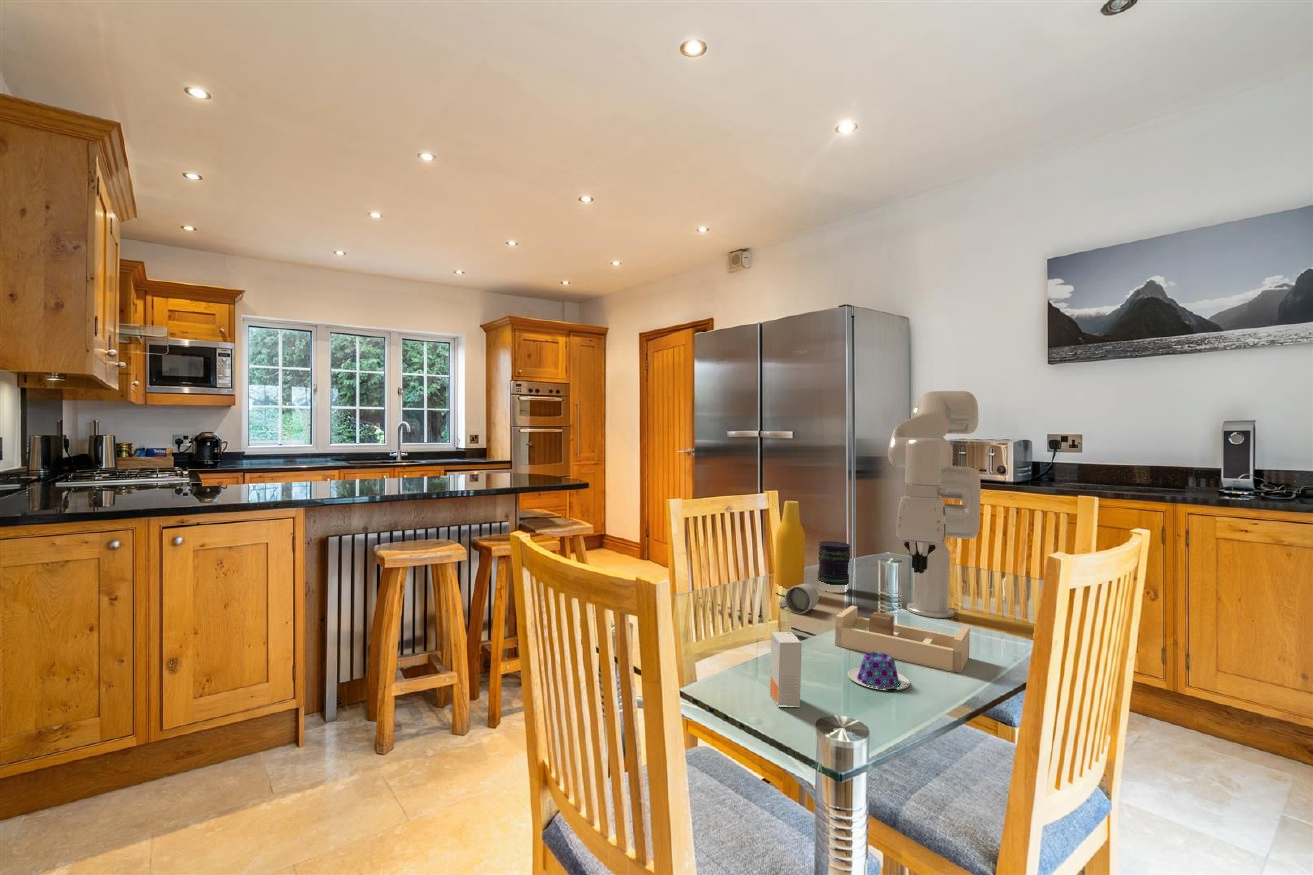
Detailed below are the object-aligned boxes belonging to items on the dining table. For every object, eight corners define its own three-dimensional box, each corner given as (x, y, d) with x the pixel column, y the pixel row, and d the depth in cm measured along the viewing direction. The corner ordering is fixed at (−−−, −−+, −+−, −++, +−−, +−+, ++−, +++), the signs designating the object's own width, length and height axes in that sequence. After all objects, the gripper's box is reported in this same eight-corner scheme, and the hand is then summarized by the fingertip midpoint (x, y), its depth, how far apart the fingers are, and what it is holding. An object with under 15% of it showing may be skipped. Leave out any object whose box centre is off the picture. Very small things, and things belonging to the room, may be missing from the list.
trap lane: (850, 632, 157) (851, 605, 156) (968, 657, 141) (970, 627, 141) (834, 645, 147) (835, 615, 147) (960, 673, 131) (961, 640, 131)
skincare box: (768, 694, 117) (770, 631, 117) (790, 694, 118) (792, 631, 118) (777, 708, 111) (779, 642, 111) (800, 708, 112) (802, 642, 112)
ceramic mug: (820, 609, 177) (820, 583, 177) (810, 616, 170) (810, 588, 170) (785, 604, 183) (785, 578, 183) (774, 610, 176) (774, 583, 176)
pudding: (905, 698, 118) (906, 671, 118) (841, 684, 124) (842, 658, 124) (913, 678, 129) (914, 653, 128) (854, 666, 134) (854, 642, 134)
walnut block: (874, 630, 150) (874, 611, 150) (893, 634, 147) (894, 615, 147) (868, 634, 146) (869, 615, 146) (888, 638, 143) (889, 619, 143)
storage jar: (818, 592, 198) (820, 545, 198) (815, 584, 207) (817, 540, 207) (850, 594, 196) (852, 547, 196) (846, 587, 206) (848, 542, 206)
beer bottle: (802, 598, 189) (805, 503, 189) (771, 595, 192) (774, 501, 192) (805, 591, 198) (808, 501, 197) (775, 588, 201) (778, 499, 200)
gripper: (960, 493, 141) (958, 574, 141) (892, 488, 149) (889, 564, 149) (955, 495, 134) (952, 580, 134) (883, 490, 143) (881, 569, 143)
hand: (919, 571), depth 142 cm, fingers closed
